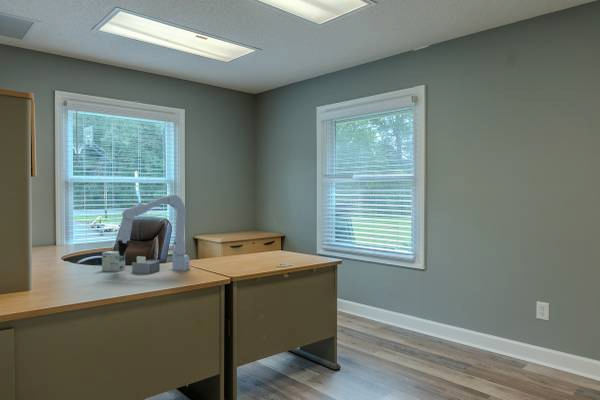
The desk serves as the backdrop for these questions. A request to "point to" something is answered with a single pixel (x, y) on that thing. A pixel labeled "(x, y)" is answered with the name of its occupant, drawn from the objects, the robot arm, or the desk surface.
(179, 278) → the desk surface
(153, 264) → the carton
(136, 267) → the carton flap
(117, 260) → the light bulb box
